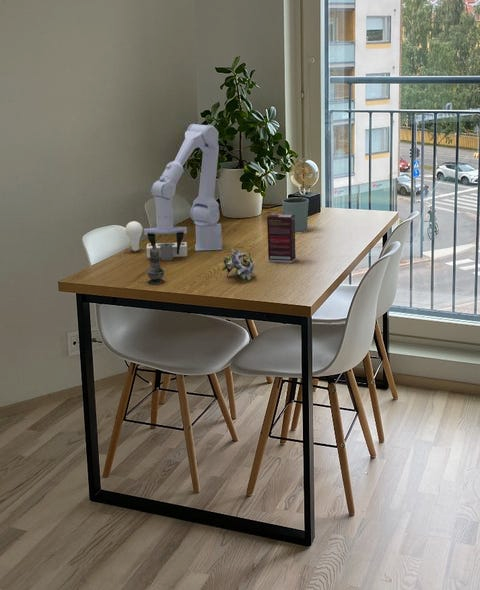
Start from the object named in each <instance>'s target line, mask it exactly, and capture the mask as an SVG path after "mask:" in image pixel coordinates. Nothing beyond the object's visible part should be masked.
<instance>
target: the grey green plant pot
mask: <svg viewBox="0 0 480 590" xmlns="http://www.w3.org/2000/svg"><path fill="white" fill-rule="evenodd" d="M309 202H310V200H309V198H307V197H300V196H299V197H297V196H296V197H288V198H284V199H282V200H281V204H282V205H281V206H282V212H283V214H294V215H295V234H297V233H296V232H302V233H305V232H304V231H306V230H307V231H308V219H309V215H308V214H309V205H310V203H309ZM307 231H306V232H307Z"/></svg>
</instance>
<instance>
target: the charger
mask: <svg viewBox="0 0 480 590" xmlns="http://www.w3.org/2000/svg"><path fill="white" fill-rule="evenodd" d="M172 243H173V242H168V243H167V242H163V244H161V245H160V248H161V257H160V259H161V260H160V262H161V261H173V259H174V257H173V249H172Z"/></svg>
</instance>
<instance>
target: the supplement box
mask: <svg viewBox="0 0 480 590" xmlns="http://www.w3.org/2000/svg"><path fill="white" fill-rule="evenodd" d="M266 225H267V247H268V248H267V253H268V254H267V255H268V256H267V257H268V258H267V259H268V262H269V263H286V264H287V263H288V264H293V263H294V262H295V261H296V259H297V257H296V254H297V253H296V233H295V215H294V214H284V213H269V214H268V215H267V216H266Z"/></svg>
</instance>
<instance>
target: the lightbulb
mask: <svg viewBox="0 0 480 590" xmlns="http://www.w3.org/2000/svg"><path fill="white" fill-rule="evenodd" d="M143 232H144V227H143V225H142V224H141V223H140V222H138V221H136V220H135V221H134V220H133V221H129V222H128V223H126V226H125V234H126V235H127V237H128V239H129V242H130V245H131V250H132V251H133V252H137V251H139V249H140V247H139V246H140V240H141V236H142V234H143Z"/></svg>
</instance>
